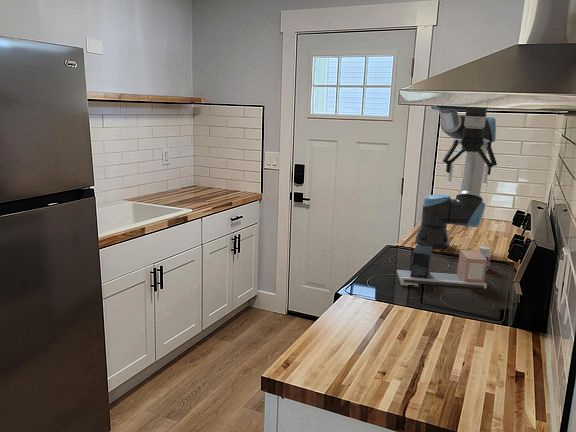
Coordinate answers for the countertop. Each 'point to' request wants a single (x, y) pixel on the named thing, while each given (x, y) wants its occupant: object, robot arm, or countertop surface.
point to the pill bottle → (485, 255)
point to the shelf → (436, 280)
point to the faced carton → (471, 266)
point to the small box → (421, 262)
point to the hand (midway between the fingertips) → (466, 182)
